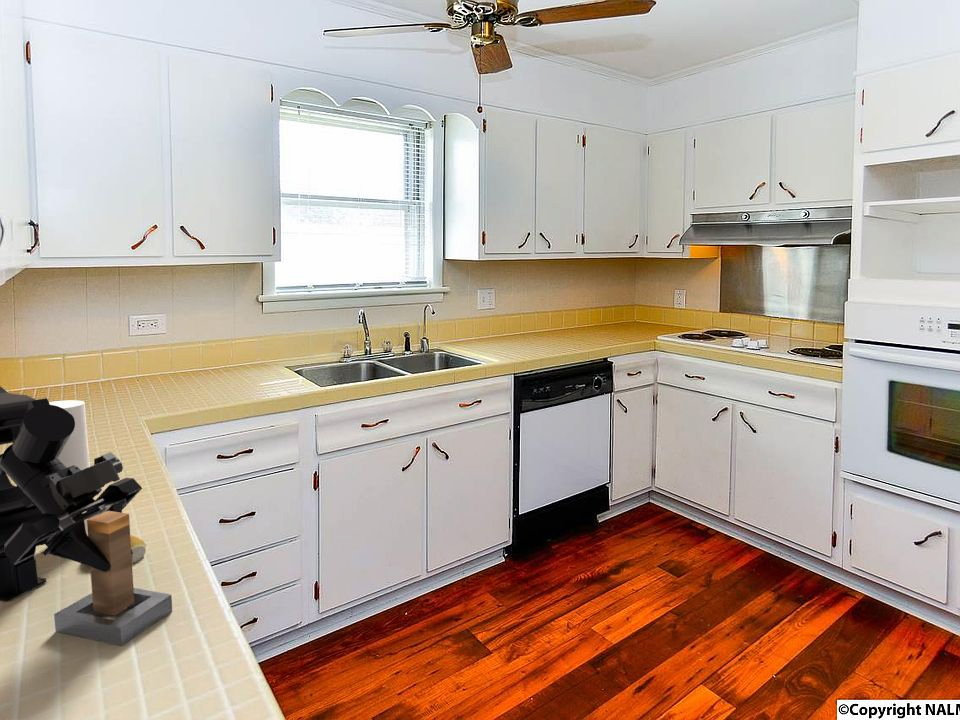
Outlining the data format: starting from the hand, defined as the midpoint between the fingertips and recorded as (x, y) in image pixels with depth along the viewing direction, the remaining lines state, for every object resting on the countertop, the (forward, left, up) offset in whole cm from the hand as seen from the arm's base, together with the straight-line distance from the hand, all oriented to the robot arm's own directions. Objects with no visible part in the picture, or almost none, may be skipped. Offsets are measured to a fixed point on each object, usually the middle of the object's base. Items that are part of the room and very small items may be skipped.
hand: (119, 562), depth 90 cm
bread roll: (-17, +16, -9) cm, 25 cm away
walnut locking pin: (-1, 0, -7) cm, 7 cm away
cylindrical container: (-28, +17, -9) cm, 34 cm away
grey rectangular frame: (-1, 0, -9) cm, 9 cm away
